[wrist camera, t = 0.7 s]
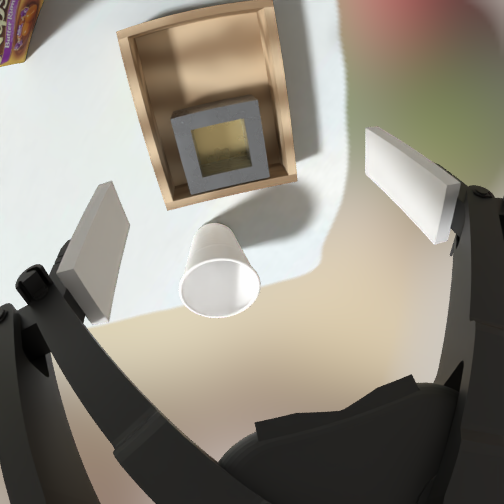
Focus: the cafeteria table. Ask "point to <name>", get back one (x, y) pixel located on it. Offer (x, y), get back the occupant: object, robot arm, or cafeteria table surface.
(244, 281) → the cup
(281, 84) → the tray
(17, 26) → the candy box
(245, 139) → the frame
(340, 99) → the cafeteria table surface
